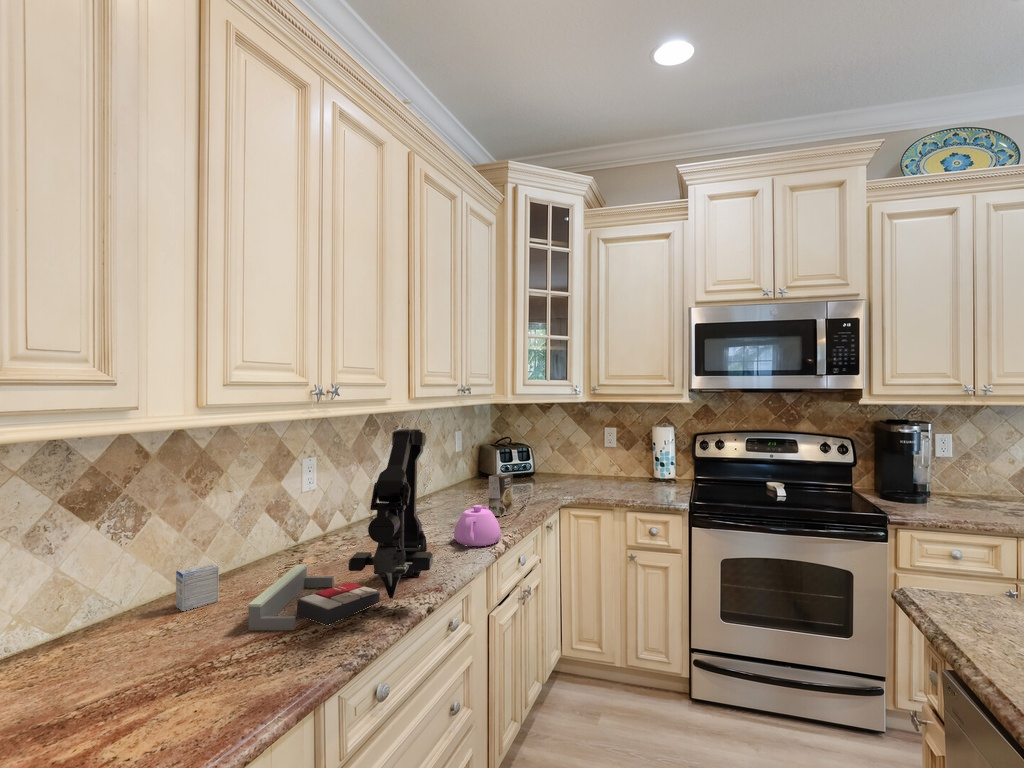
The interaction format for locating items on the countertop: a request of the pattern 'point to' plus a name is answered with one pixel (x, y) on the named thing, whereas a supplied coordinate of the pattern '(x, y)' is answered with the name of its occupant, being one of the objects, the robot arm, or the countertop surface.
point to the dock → (282, 599)
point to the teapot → (477, 527)
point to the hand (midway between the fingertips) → (391, 598)
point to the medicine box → (197, 586)
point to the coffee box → (501, 494)
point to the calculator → (336, 602)
